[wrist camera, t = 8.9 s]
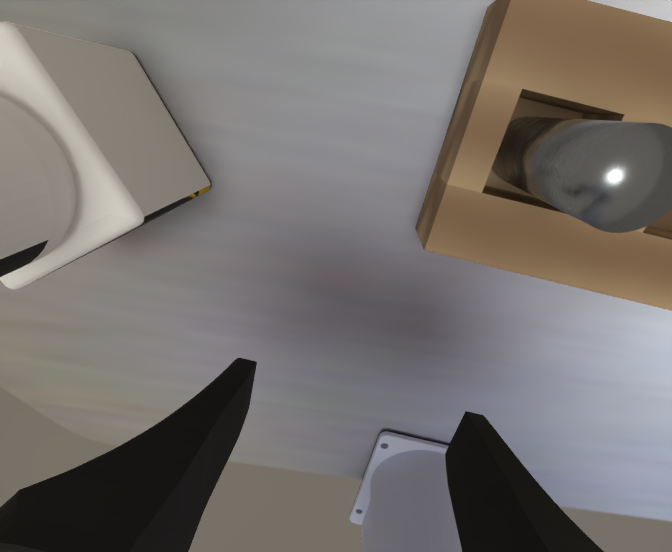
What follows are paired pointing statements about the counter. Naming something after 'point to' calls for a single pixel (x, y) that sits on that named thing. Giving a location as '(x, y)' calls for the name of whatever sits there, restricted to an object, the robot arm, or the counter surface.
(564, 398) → the counter surface
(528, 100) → the hole block
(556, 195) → the steel pin
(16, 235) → the medicine bottle
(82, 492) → the robot arm
